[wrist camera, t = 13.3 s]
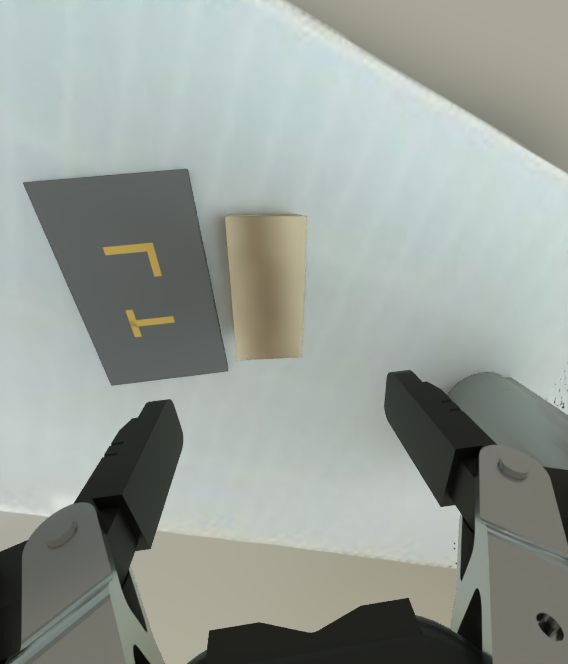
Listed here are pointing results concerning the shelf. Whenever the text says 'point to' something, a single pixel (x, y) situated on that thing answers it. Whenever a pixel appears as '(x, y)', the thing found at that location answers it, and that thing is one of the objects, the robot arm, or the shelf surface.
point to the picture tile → (135, 271)
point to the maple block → (267, 284)
